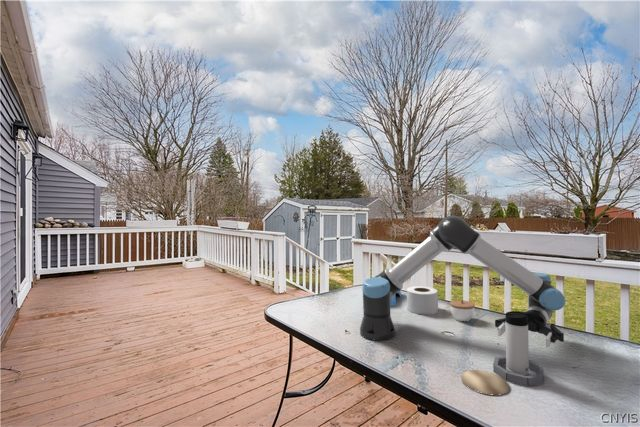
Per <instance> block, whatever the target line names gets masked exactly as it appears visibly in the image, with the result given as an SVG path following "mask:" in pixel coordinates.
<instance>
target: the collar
mask: <svg viewBox="0 0 640 427" xmlns="http://www.w3.org/2000/svg"><path fill="white" fill-rule="evenodd" d="M502 366H506V355H502V356H495V357H494V359H493V368H492V369H493V370H492V373H494V374H496V375H498V376H500V377H502V378H503V379H504V380H505V381H506V382H507V383H508V382H509V383H513V384H517V385H521V386H525V387H533V386H539V385H544V384H545V373H544V372H545V368H544V367H543V366H542V365H540V364H537V362H534V361H533V360H531V359H529V371H531V372H534V373H535V374H529V376H524V375H520V374H516V373H511V372H508V371H506V368H504V367H502Z"/></svg>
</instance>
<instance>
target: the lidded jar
mask: <svg viewBox="0 0 640 427" xmlns="http://www.w3.org/2000/svg"><path fill="white" fill-rule="evenodd" d="M449 306H450V313H451V315H452V316H453V318H455V320H456V321H458V322H462V321H464V322H465V321H467V322H470V320H471V319H472V318H473V317H474V314H475V303H474V302H471V301H469V300H463V299H460V300H459V299H456V300H454V299H453V300H451V301H450V302H449Z"/></svg>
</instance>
